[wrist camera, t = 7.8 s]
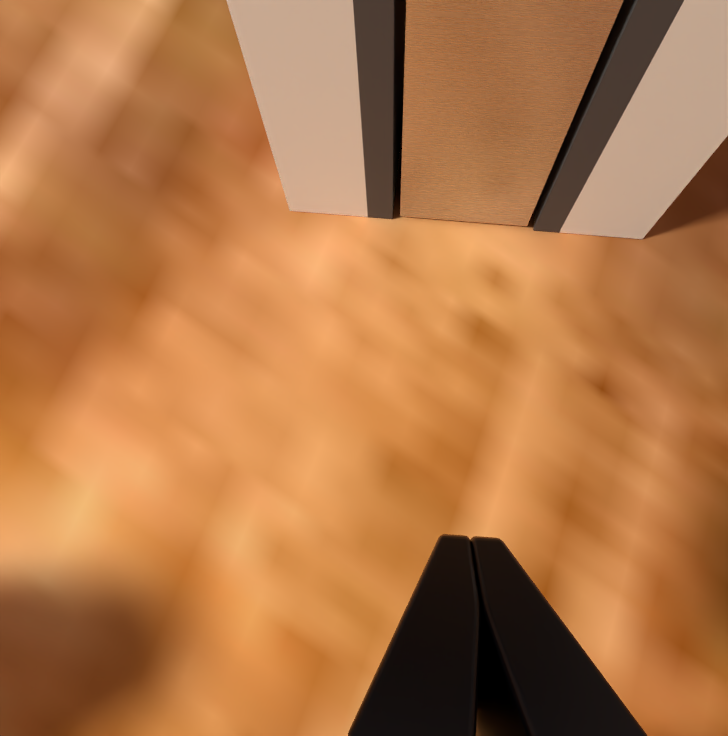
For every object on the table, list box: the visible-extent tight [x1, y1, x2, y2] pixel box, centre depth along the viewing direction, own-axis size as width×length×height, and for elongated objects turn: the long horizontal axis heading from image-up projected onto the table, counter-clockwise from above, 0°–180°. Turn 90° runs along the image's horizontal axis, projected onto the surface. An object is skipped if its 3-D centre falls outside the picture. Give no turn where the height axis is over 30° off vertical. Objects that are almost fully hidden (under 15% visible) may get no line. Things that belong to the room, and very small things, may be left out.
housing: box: [227, 0, 728, 239], centre depth 18 cm, size 6×14×15 cm, turn 83°
